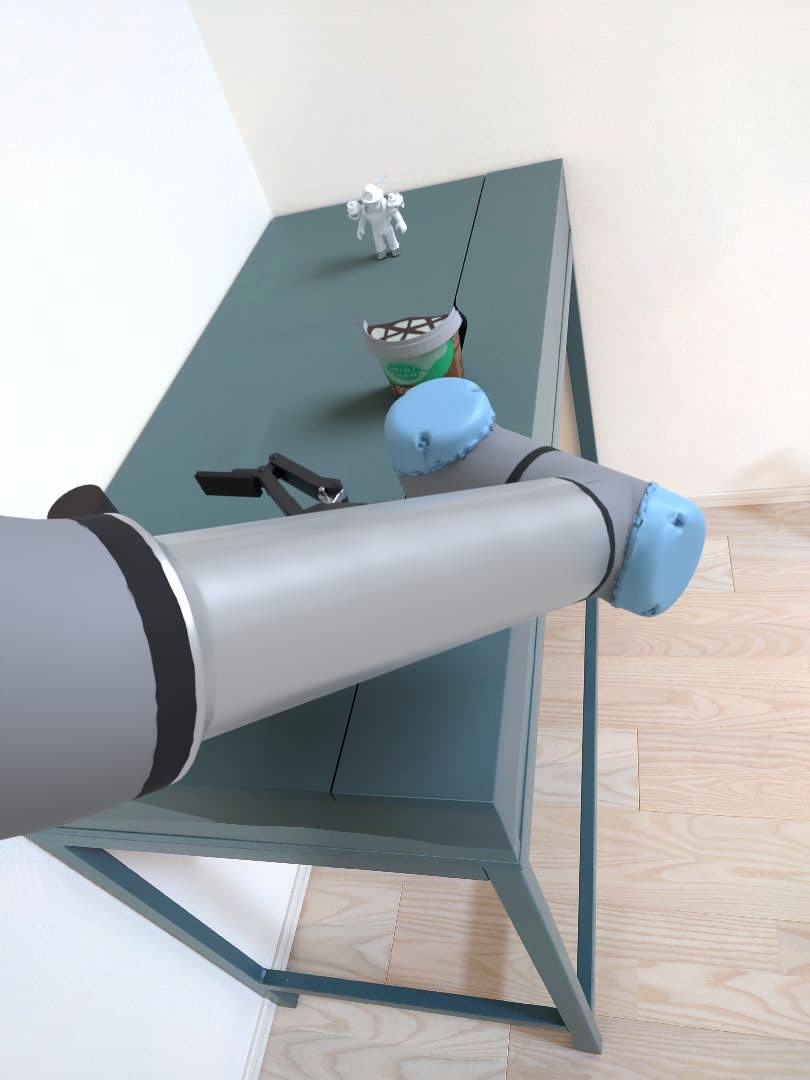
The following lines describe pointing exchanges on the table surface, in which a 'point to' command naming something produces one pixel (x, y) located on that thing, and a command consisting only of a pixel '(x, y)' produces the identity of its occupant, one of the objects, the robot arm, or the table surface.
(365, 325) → the food container
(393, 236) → the blocky character figurine
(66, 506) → the deodorant
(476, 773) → the table surface
